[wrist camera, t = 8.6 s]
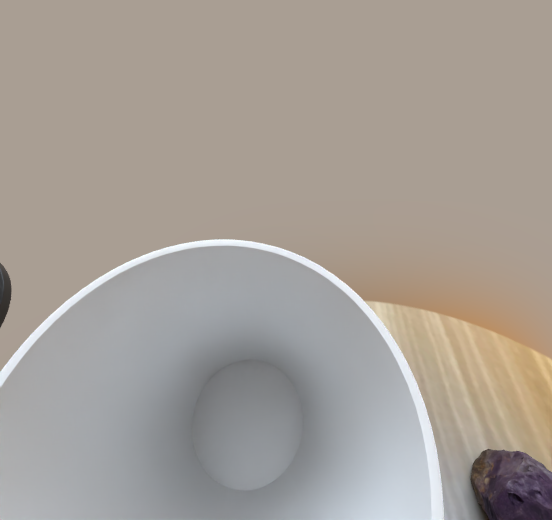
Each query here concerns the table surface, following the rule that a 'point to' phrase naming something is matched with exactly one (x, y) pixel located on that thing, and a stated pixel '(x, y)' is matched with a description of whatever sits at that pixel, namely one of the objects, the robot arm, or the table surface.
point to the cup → (215, 399)
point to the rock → (512, 486)
